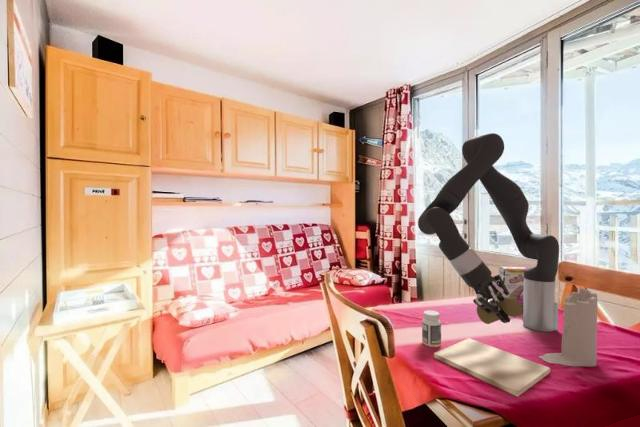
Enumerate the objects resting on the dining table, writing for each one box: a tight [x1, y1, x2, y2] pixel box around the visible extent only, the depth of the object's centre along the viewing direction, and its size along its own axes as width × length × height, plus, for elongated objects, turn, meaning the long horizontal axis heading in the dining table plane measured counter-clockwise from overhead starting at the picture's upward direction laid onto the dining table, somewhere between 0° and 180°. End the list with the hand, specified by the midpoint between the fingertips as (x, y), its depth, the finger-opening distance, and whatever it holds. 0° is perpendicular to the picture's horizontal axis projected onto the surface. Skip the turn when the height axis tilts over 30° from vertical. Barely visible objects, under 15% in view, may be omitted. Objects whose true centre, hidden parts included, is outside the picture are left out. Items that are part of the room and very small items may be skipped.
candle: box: [538, 287, 598, 368], centre depth 86 cm, size 7×14×20 cm, turn 88°
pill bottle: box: [421, 310, 442, 348], centre depth 97 cm, size 6×6×10 cm
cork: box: [476, 297, 523, 325], centre depth 87 cm, size 6×6×11 cm
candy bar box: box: [498, 266, 529, 307], centre depth 134 cm, size 11×5×16 cm, turn 84°
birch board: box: [433, 337, 551, 398], centre depth 84 cm, size 22×18×1 cm
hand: (510, 316), depth 86 cm, fingers closed on cork, 3 cm apart
